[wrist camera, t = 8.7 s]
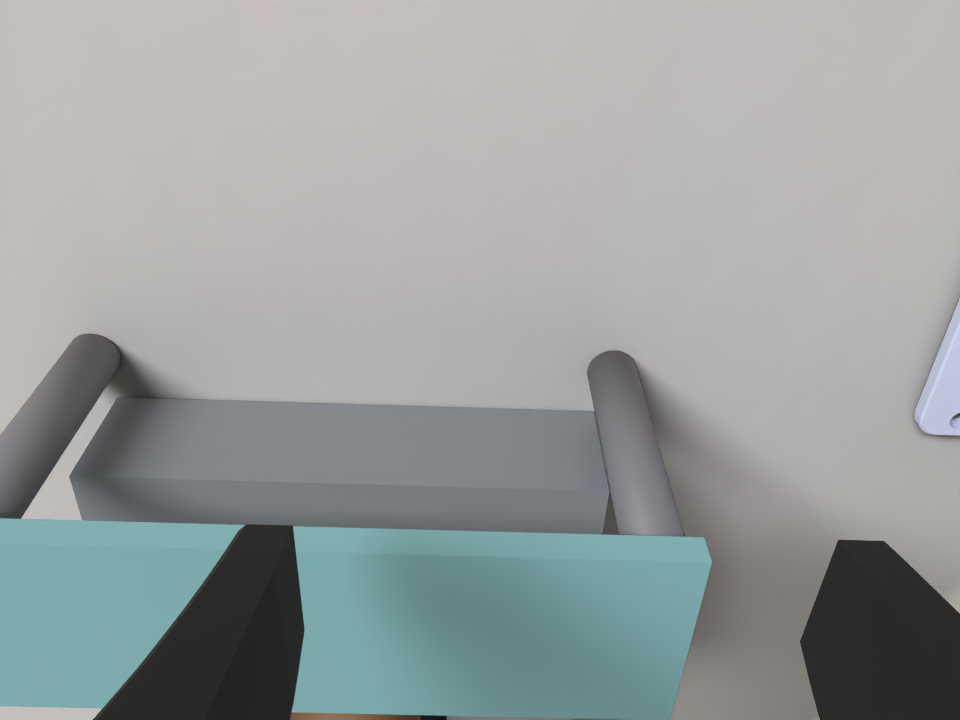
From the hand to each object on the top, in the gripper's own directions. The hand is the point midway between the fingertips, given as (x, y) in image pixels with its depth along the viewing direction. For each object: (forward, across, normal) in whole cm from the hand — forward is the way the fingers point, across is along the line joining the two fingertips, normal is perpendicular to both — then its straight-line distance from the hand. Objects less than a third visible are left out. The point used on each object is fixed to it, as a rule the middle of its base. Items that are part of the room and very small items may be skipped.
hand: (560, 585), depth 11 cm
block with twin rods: (+9, +4, +4) cm, 11 cm away
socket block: (+9, +4, +10) cm, 14 cm away
